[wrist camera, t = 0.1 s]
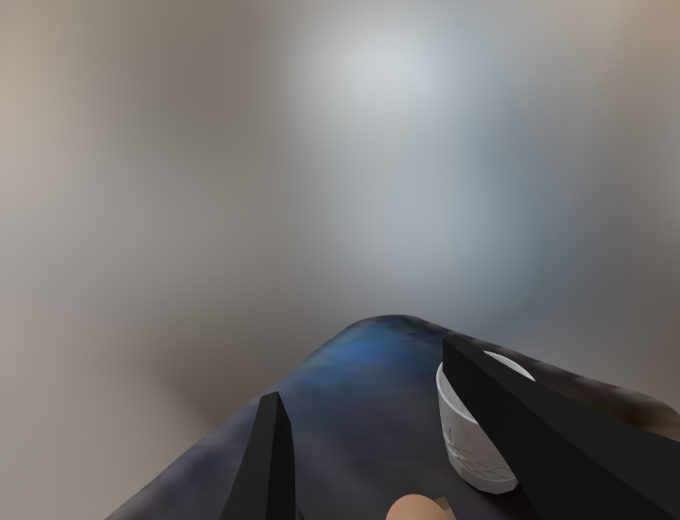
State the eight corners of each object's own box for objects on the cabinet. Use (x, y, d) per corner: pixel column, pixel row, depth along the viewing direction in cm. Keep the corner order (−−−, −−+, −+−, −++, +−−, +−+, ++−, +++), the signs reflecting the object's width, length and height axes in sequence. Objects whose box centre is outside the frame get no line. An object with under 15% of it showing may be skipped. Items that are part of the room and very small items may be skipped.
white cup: (467, 514, 23) (469, 442, 19) (427, 426, 30) (421, 361, 26) (552, 489, 23) (571, 413, 19) (492, 409, 30) (496, 341, 26)
